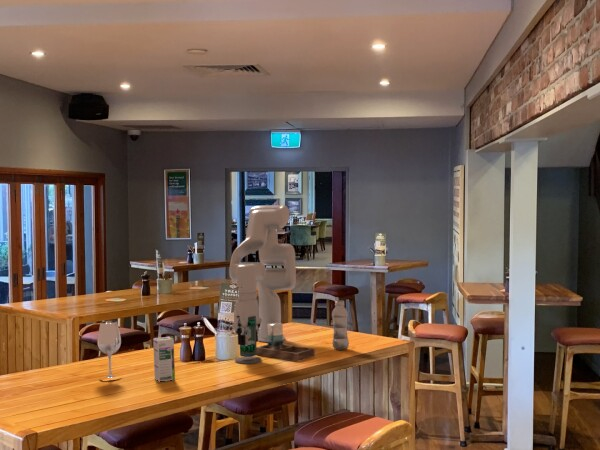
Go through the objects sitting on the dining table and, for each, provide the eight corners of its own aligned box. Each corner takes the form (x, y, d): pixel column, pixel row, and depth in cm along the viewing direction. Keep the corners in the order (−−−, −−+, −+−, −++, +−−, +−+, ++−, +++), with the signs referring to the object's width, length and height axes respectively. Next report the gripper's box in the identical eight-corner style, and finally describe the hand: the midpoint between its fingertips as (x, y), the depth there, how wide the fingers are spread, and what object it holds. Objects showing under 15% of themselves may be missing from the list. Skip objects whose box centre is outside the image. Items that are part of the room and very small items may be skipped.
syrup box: (158, 382, 230) (157, 340, 230) (154, 379, 235) (153, 337, 235) (175, 380, 233) (174, 338, 232) (170, 376, 238) (169, 335, 238)
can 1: (237, 356, 258) (236, 317, 258) (244, 352, 264) (243, 314, 264) (252, 357, 256) (251, 317, 256) (259, 353, 262) (258, 315, 261)
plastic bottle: (349, 351, 274) (348, 301, 273) (332, 351, 274) (331, 302, 273) (348, 347, 280) (347, 299, 279) (332, 348, 280) (331, 299, 280)
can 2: (264, 354, 271) (264, 324, 270) (274, 351, 275) (274, 322, 275) (276, 356, 267) (275, 326, 266) (286, 353, 272) (285, 323, 271)
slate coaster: (229, 361, 259) (229, 360, 259) (247, 356, 267) (247, 355, 267) (249, 365, 253) (248, 363, 253) (266, 360, 261) (266, 358, 261)
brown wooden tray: (256, 354, 270) (256, 347, 270) (274, 350, 279) (274, 342, 279) (297, 361, 257) (297, 353, 257) (314, 356, 266) (314, 348, 266)
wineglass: (126, 376, 239) (124, 320, 239) (113, 382, 232) (111, 324, 231) (107, 375, 242) (105, 319, 241) (94, 381, 234) (92, 323, 234)
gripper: (254, 293, 268) (255, 338, 269) (223, 298, 255) (225, 346, 256) (269, 294, 264) (270, 340, 264) (238, 300, 250) (239, 348, 251)
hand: (248, 342), depth 260 cm, fingers closed on can 1, 6 cm apart
